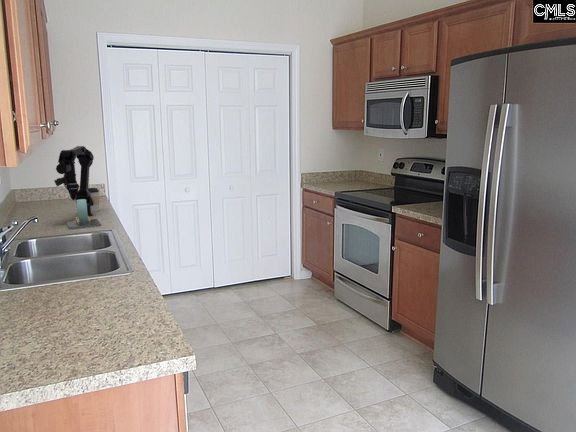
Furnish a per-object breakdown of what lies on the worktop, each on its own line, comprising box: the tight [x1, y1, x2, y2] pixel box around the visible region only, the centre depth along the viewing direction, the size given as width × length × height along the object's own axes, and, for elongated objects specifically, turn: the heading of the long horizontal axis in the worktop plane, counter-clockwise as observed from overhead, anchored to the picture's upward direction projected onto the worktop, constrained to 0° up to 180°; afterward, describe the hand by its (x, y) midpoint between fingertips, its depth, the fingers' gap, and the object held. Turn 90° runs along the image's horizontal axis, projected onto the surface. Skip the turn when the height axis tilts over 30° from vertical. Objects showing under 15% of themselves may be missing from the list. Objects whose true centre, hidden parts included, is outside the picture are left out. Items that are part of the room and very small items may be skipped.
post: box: [75, 199, 88, 224], centre depth 260 cm, size 5×5×13 cm
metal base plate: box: [66, 216, 102, 230], centre depth 261 cm, size 16×16×4 cm
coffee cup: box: [88, 187, 100, 213], centre depth 302 cm, size 9×9×15 cm
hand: (72, 199), depth 270 cm, fingers open, 9 cm apart
